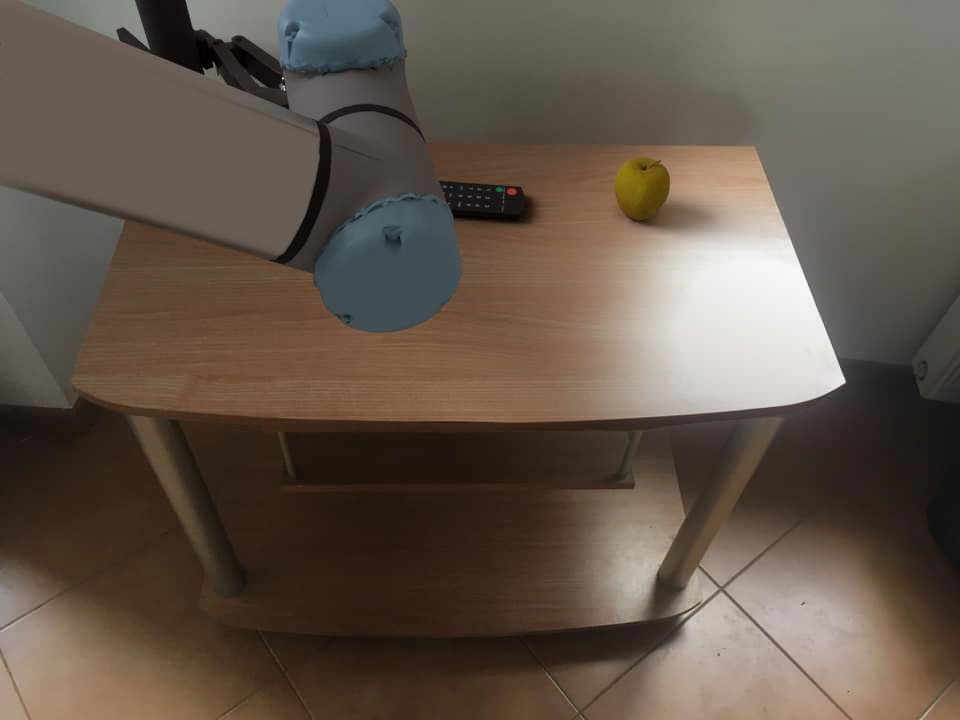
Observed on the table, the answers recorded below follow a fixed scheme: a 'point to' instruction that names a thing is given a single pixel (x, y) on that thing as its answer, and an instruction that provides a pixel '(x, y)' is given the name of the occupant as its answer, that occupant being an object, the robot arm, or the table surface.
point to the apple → (641, 187)
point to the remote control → (484, 199)
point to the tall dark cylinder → (170, 32)
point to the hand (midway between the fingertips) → (148, 34)
